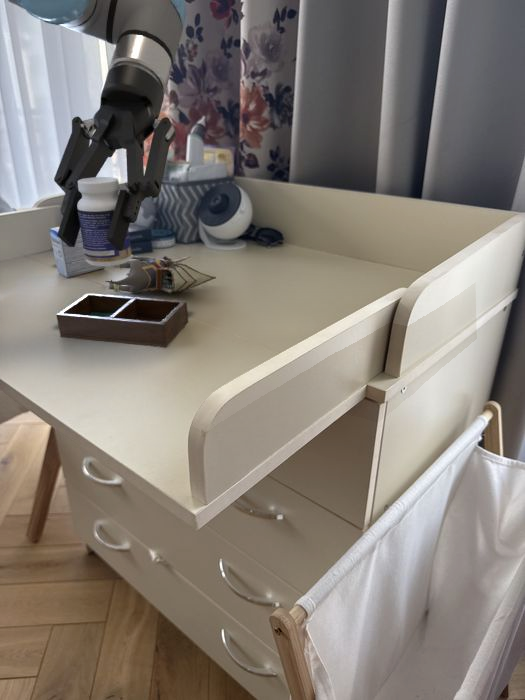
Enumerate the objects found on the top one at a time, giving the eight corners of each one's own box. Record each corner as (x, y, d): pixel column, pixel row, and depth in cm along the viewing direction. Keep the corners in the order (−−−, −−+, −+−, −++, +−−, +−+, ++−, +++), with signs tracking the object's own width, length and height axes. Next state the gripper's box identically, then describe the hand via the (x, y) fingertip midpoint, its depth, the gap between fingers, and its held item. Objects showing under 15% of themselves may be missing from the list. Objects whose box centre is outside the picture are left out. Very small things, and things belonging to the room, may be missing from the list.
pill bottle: (131, 266, 67) (120, 182, 62) (83, 269, 66) (68, 184, 61) (133, 252, 72) (123, 174, 67) (89, 255, 71) (76, 176, 66)
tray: (166, 347, 75) (163, 324, 74) (60, 336, 79) (55, 314, 77) (188, 322, 83) (186, 301, 81) (91, 313, 86) (87, 293, 85)
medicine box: (94, 263, 109) (87, 220, 105) (105, 268, 106) (98, 224, 102) (57, 272, 104) (48, 228, 100) (67, 278, 101) (58, 232, 97)
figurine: (148, 240, 104) (230, 248, 99) (150, 271, 107) (230, 280, 102) (85, 266, 87) (180, 277, 82) (89, 302, 89) (182, 315, 84)
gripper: (212, 106, 72) (174, 263, 65) (86, 106, 76) (38, 253, 70) (195, 60, 65) (150, 230, 58) (57, 62, 69) (1, 222, 63)
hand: (90, 242), depth 64 cm, fingers closed on pill bottle, 6 cm apart
